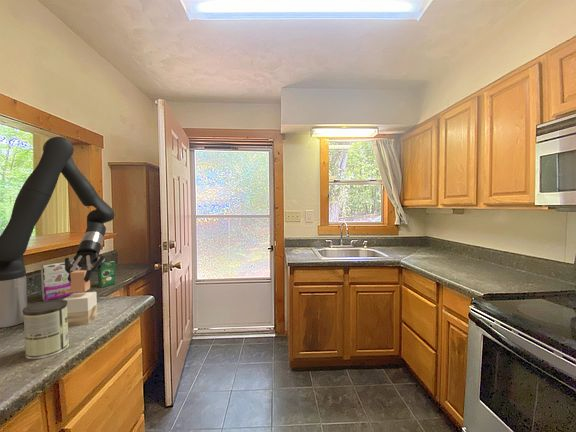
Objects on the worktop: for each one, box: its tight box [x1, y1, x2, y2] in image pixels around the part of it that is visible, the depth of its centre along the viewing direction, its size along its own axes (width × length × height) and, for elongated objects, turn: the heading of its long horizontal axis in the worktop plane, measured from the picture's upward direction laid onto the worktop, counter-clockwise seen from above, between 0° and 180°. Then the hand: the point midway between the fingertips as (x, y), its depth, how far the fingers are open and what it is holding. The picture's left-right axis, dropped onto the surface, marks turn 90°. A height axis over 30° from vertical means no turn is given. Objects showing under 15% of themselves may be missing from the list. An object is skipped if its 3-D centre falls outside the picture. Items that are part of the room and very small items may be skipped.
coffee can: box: [23, 299, 70, 360], centre depth 85 cm, size 10×10×14 cm
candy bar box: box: [40, 261, 73, 302], centre depth 135 cm, size 11×5×16 cm, turn 143°
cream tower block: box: [62, 291, 98, 313], centre depth 107 cm, size 8×8×5 cm
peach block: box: [70, 269, 91, 293], centre depth 107 cm, size 4×4×8 cm
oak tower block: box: [67, 303, 99, 327], centre depth 107 cm, size 8×8×5 cm
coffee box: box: [97, 260, 116, 288], centre depth 154 cm, size 8×3×13 cm, turn 153°
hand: (78, 281), depth 105 cm, fingers closed on peach block, 4 cm apart
